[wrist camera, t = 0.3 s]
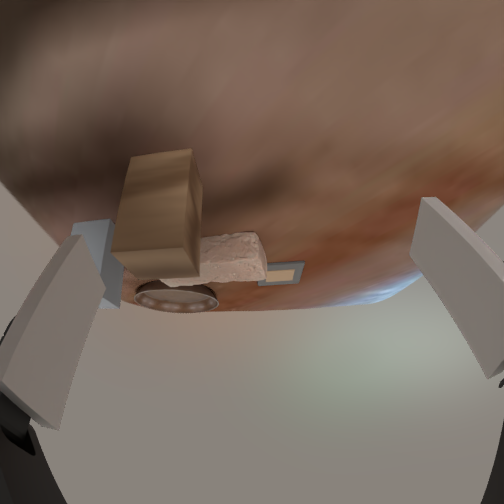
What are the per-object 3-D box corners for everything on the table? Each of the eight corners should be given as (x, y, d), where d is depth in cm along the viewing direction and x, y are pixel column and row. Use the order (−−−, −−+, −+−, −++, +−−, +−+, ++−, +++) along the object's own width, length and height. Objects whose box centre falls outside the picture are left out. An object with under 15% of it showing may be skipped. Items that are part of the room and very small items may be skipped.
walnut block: (131, 156, 26) (110, 252, 21) (191, 148, 26) (182, 247, 21) (149, 193, 31) (138, 279, 27) (202, 187, 31) (199, 277, 27)
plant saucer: (170, 305, 72) (170, 317, 70) (118, 283, 57) (116, 297, 56) (233, 294, 65) (233, 308, 64) (185, 267, 51) (185, 284, 49)
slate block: (73, 223, 35) (59, 294, 31) (110, 218, 35) (97, 294, 30) (93, 243, 40) (83, 307, 36) (127, 240, 40) (119, 308, 36)
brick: (170, 265, 50) (169, 292, 48) (147, 244, 42) (144, 274, 40) (267, 252, 47) (269, 280, 45) (257, 226, 40) (259, 258, 38)
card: (256, 263, 50) (256, 267, 50) (304, 260, 50) (304, 264, 49) (257, 283, 59) (258, 286, 59) (298, 281, 59) (298, 284, 58)
